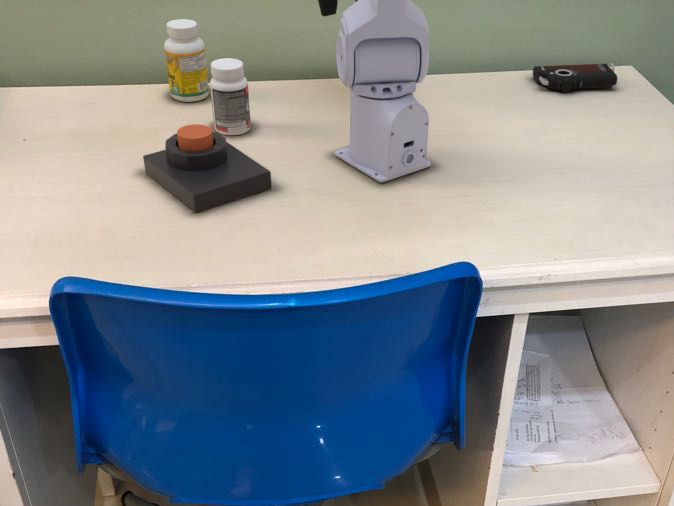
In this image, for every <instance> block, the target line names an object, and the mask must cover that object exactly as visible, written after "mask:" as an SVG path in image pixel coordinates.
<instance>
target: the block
mask: <svg viewBox="0 0 674 506" xmlns="http://www.w3.org/2000/svg"><path fill="white" fill-rule="evenodd" d="M212 134H213V144H214V145H213V147H211V148H209V149H206V150H202V151H187V150H182V149H180V148H179V145H178V137H177V133H174V134H173V135H172V136H171V135H170V137H169V138H167V139H166V140H165V146H164V149H163V150H160V151H155V152H152V153H148V154H145V155H142V158H143V166H144V171H145V174H146V175H148V176H149V177H150V178H151V179H153V180H154V181H155V182H156V183H158V185H160V186H161V187H162V188H164V189H165V190H166V191H167V192H169V193H170V194H171V195H173V196H174V197H175V198H176V199H178V200H179V201H180V202H181V203H182V204H184V206H186V207H187V208H189V209H190V210H191V211H193V212H194V213H195V214H197V213H201V212H203V211H206V210H209V209H213V208H215V207H216V208H217V207H219V206H222V205H226V204H229V203H231V202H235V201H239V200H241V199H244V198H247V197H251V196H253V195H257V194H259V193H263V192H265V191H269V190H272V172H271V170H269V169H268V168H266V167H265V166H263V165H262V164H260V163H259V162H258V161H256V160H254V159H253V158H251V157H250V156H249V155H247V154H245V153H244V152H242V151H241V150H240V149H238V148H237V147H235V146H233V145H232V144H231V143H229V142H227V138H226V137H225V136H223V134H220V133H218V132H217V131H216V132H215V131H212Z"/></svg>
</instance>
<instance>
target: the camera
mask: <svg viewBox="0 0 674 506" xmlns="http://www.w3.org/2000/svg"><path fill="white" fill-rule="evenodd" d="M615 67H616V66H615V65H614V64H613V63H612V62H610V63H587V64H585V63H583V64H561V65H559V64H557V65H535V66H534V67H533V68H532V77H533V78H534V80H535V82H536V83H538V84H541V85H543V86H546V88H547V89H550V90H551V91H561V92H565V93H566V92H567V93H568V92H570V91H571V90H585V89H610V88H612V87H613V86H616V85H617V83H618V75H617V74H616V72H615V69H616V68H615Z"/></svg>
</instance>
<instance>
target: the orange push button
mask: <svg viewBox="0 0 674 506" xmlns="http://www.w3.org/2000/svg"><path fill="white" fill-rule="evenodd" d="M212 132H213V129H212V128H211V127H210V126H208V125H205V124H198V123H197V124H194V123H193V124H186V125H184V126H181V127H179V128H178V129H177V132H176V134H177V137H178V145H179V148H180V149H182V150H187V151H202V150H206V149H209V148H211V147H213V145H214V144H213V134H212Z"/></svg>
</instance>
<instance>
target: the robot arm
mask: <svg viewBox="0 0 674 506" xmlns="http://www.w3.org/2000/svg"><path fill="white" fill-rule="evenodd" d="M317 2H318V6H319V11H320V15H321V16H322V17H324V18H325V17H329V16H333V15H336V14H337V12H338V11H337V10H338V4H339V3H338V2H339V0H317ZM429 40H430V28H429V24H428V21H427V18H426V15H425V14H424V12H423V11H422V10H421V8H419V6H417V5H415V3H413V2H412V1H411V0H355V2H354V3H353V4H351V5H350V6H349V7H348V8H346V9H345V10H344V11H343V12H342V15H341V18H340V20H339V31H338V34H337V37H336V50H335V51H336V53H335V55H336V68H337V75H338V78H339V81H340V82H341V84H343V86H344V87H345V88H349V146H346V147H342V148H339V149H336V150H335V151H334V156H336V157H337V158H338V159H340V160H342V161H344V162H346V163H347V164H348V165H350V166H351V167H353V168H355V169H357V170H359V171H361V172H362V173H364V174H365V175H367V176H369V177H370V178H372V179H373V180H375V181H376V182H378V183H385V182H388V181H390V180H391V181H392V180H394V179H398V178H400V177H403V176H406V175H409V174H412V173H415V172H418V171H420V170H423V169H426V168H429V167H431V166H432V162H431V161H430V160H428V159H427V153H428V152H427V151H428V138H429V123H430V118H429V114H428V113H429V112H428V111H427V108H426V107H425V106H424V105H422V103H420V102H419V101H418V100H417V98H416V96H415V95H414V93H416V92H417V84H422V82H423V81H424V79H426V77H427V74H428V72H429V71H428V70H429V64H430V46H429V44H430V43H429Z"/></svg>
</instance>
